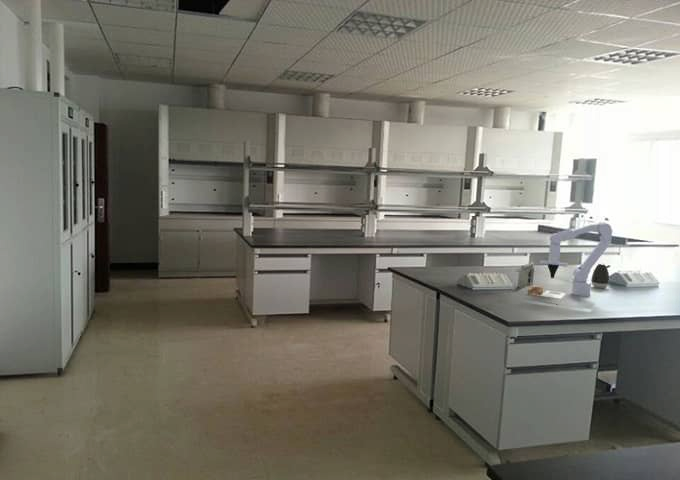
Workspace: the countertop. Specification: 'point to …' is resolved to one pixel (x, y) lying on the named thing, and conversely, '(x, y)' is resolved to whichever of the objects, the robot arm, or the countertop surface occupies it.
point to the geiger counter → (526, 275)
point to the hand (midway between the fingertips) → (552, 278)
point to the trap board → (547, 294)
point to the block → (537, 290)
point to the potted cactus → (600, 276)
